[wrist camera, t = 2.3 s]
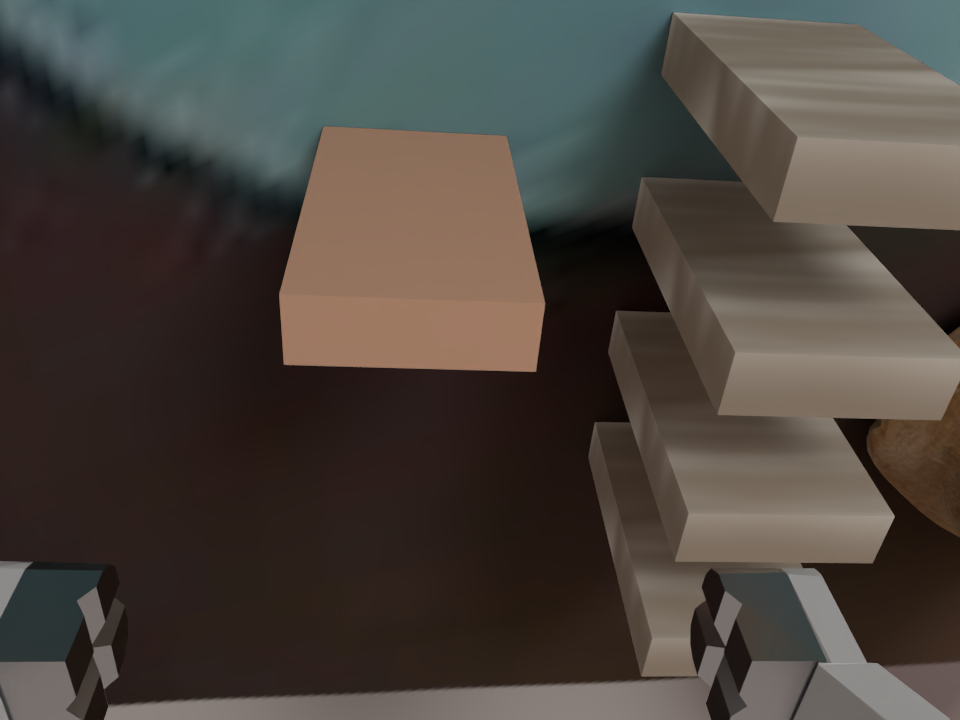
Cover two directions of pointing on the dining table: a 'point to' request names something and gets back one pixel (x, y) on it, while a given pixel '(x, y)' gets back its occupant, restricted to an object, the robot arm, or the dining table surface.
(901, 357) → the domino
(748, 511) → the domino
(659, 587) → the domino
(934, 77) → the domino
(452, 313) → the domino
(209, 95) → the dining table surface
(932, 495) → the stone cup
